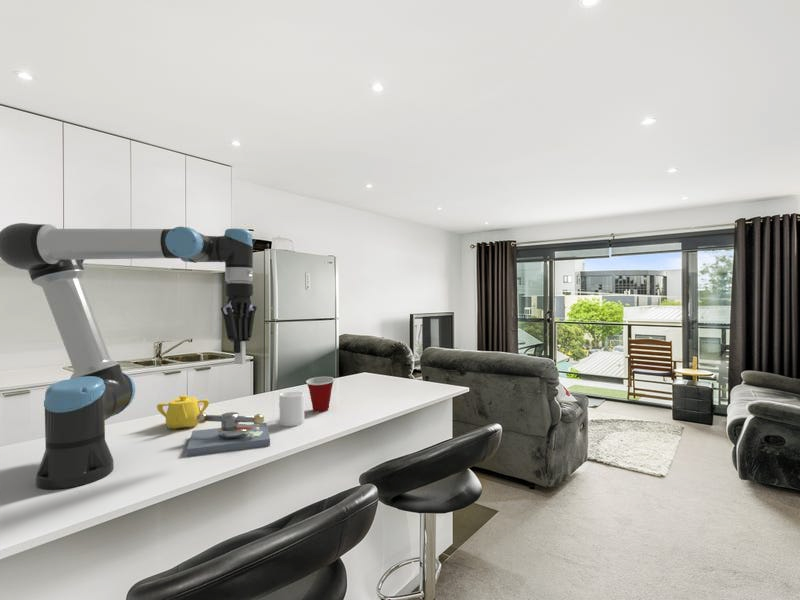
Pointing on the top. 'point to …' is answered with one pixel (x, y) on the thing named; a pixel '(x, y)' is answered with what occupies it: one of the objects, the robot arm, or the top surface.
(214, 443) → the stand
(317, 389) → the plastic cup
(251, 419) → the grey lever with knob
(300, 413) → the cup
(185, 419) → the yellow sugar bowl
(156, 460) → the top surface
